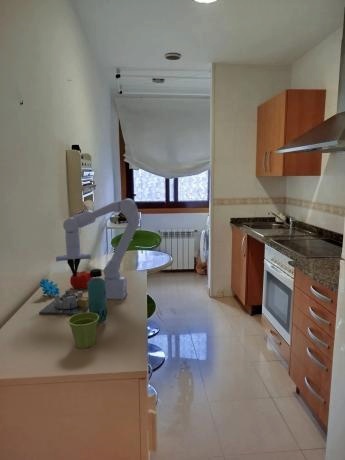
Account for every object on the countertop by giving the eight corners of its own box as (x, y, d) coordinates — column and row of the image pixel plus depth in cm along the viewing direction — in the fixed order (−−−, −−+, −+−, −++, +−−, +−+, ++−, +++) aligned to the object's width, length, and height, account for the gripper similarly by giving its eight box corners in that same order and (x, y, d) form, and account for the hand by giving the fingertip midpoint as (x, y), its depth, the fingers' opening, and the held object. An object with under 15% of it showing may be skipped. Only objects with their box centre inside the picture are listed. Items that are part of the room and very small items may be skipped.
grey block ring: (67, 297, 143) (66, 288, 142) (95, 301, 137) (95, 291, 137) (49, 306, 133) (48, 296, 132) (78, 311, 127) (77, 301, 127)
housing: (78, 304, 138) (77, 292, 138) (73, 309, 133) (72, 297, 132) (65, 304, 139) (65, 292, 138) (59, 309, 134) (58, 296, 133)
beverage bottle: (91, 329, 115) (88, 273, 112) (87, 322, 121) (84, 269, 118) (110, 325, 118) (107, 270, 115) (104, 318, 124) (102, 266, 121)
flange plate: (96, 299, 143) (96, 297, 143) (81, 315, 127) (80, 313, 126) (59, 298, 145) (59, 296, 145) (39, 314, 129) (39, 311, 129)
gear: (51, 296, 143) (37, 279, 145) (43, 305, 144) (29, 288, 146) (65, 291, 154) (52, 275, 156) (57, 300, 155) (44, 284, 157)
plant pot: (93, 352, 99) (92, 325, 98) (64, 350, 101) (62, 323, 100) (104, 338, 109) (103, 313, 107) (77, 336, 110) (76, 311, 109)
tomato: (98, 285, 162) (97, 271, 161) (81, 292, 153) (80, 276, 152) (83, 282, 168) (82, 268, 167) (65, 288, 159) (64, 273, 158)
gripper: (54, 248, 137) (56, 279, 140) (90, 246, 141) (91, 277, 143) (56, 245, 144) (58, 275, 146) (90, 243, 147) (92, 272, 150)
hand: (74, 275), depth 145 cm, fingers closed
